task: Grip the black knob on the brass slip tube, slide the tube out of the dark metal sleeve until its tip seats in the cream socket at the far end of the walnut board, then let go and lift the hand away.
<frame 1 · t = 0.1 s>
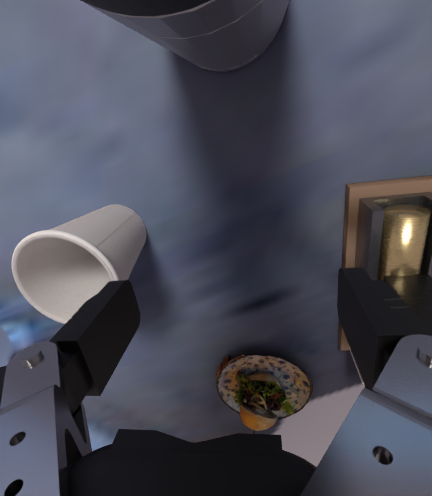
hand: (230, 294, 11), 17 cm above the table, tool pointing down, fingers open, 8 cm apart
dixie cup: (121, 229, 31), on the table
burger: (262, 376, 38), on the table
slip tube: (419, 285, 21), point 7 cm above the table, slide at 0.0 cm
outer sleeve: (395, 252, 25), on the base board, point 3 cm above the table
base board: (382, 238, 27), on the table
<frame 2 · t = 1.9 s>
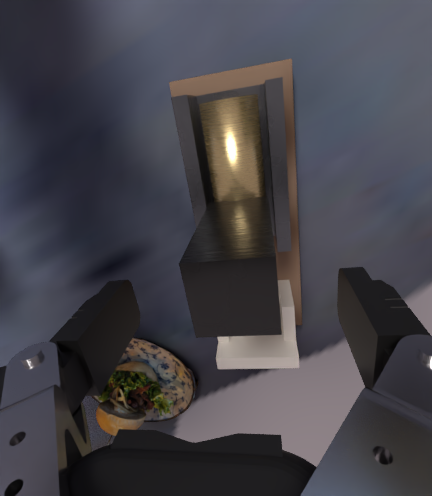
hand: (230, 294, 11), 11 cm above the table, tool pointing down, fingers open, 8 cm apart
far socket: (255, 322, 21), on the base board, point 4 cm above the table
burger: (141, 367, 30), on the table
slip tube: (234, 203, 14), point 7 cm above the table, slide at 0.0 cm
outer sleeve: (238, 174, 17), on the base board, point 3 cm above the table
base board: (240, 165, 20), on the table
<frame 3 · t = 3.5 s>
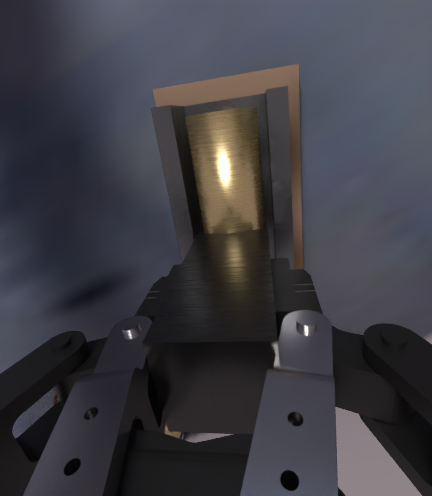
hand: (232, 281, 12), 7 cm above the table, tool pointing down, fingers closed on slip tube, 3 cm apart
slip tube: (225, 242, 11), point 7 cm above the table, slide at 0.0 cm, touching gripper
outer sleeve: (233, 199, 15), on the base board, point 3 cm above the table
base board: (236, 186, 17), on the table
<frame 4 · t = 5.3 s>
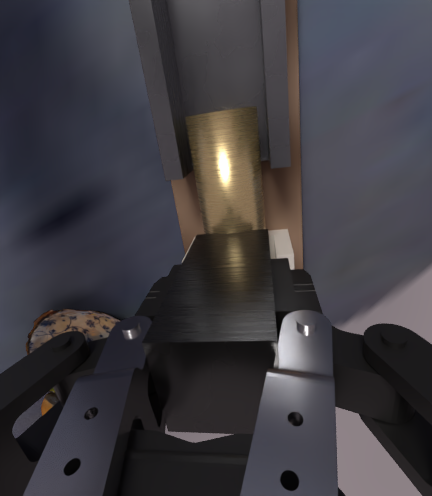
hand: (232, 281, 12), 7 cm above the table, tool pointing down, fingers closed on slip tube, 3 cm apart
far socket: (241, 282, 16), on the base board, point 4 cm above the table
burger: (107, 352, 25), on the table
slip tube: (225, 242, 11), point 7 cm above the table, slide at 6.1 cm, touching gripper
outer sleeve: (216, 58, 12), on the base board, point 3 cm above the table
base board: (223, 67, 15), on the table
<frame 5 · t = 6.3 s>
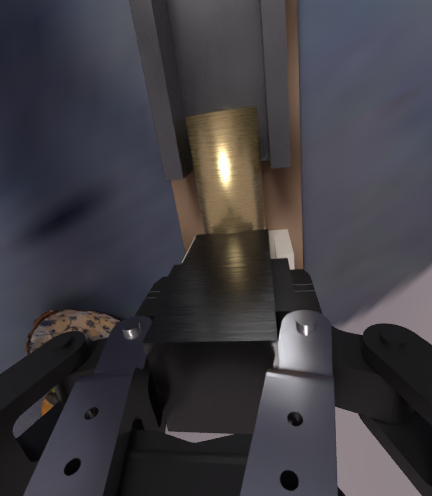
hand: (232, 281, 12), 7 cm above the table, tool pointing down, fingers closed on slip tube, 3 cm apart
far socket: (241, 282, 16), on the base board, point 4 cm above the table
burger: (107, 352, 25), on the table
slip tube: (225, 242, 11), point 7 cm above the table, slide at 6.1 cm, touching gripper
outer sleeve: (216, 58, 12), on the base board, point 3 cm above the table
base board: (223, 67, 15), on the table
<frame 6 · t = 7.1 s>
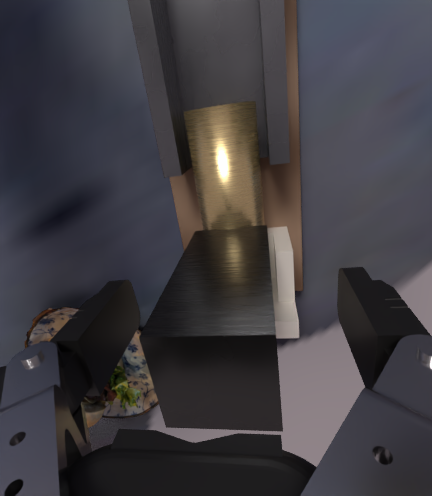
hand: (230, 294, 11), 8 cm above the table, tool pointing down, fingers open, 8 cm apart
far socket: (240, 279, 16), on the base board, point 4 cm above the table
burger: (106, 350, 25), on the table
slip tube: (224, 237, 11), point 7 cm above the table, slide at 6.0 cm
outer sleeve: (215, 53, 12), on the base board, point 3 cm above the table
base board: (222, 63, 15), on the table
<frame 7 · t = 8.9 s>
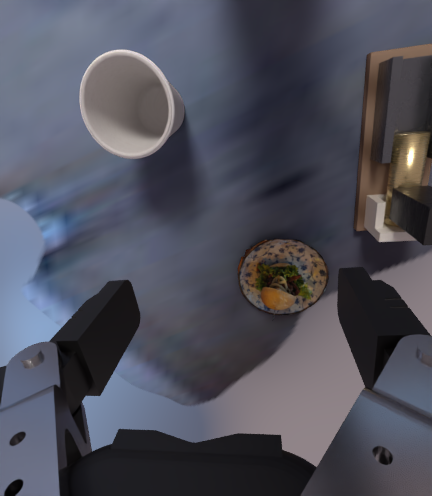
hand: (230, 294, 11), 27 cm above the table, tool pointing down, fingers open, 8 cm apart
dixie cup: (161, 110, 34), on the table
far socket: (399, 216, 32), on the base board, point 4 cm above the table
burger: (280, 272, 41), on the table
slip tube: (421, 187, 27), point 7 cm above the table, slide at 6.0 cm
outer sleeve: (410, 110, 28), on the base board, point 3 cm above the table
base board: (397, 110, 31), on the table
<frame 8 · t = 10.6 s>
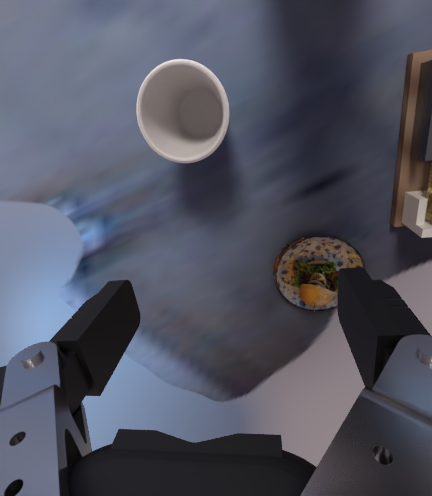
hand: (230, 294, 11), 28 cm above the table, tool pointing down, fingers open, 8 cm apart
dixie cup: (201, 114, 35), on the table
burger: (315, 269, 42), on the table
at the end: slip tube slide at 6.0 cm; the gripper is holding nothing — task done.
